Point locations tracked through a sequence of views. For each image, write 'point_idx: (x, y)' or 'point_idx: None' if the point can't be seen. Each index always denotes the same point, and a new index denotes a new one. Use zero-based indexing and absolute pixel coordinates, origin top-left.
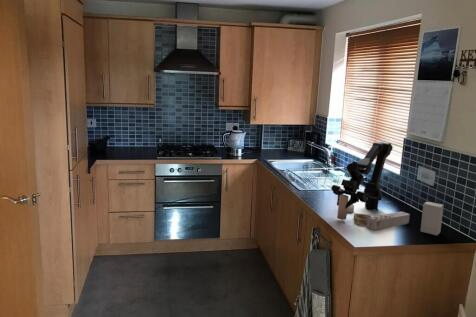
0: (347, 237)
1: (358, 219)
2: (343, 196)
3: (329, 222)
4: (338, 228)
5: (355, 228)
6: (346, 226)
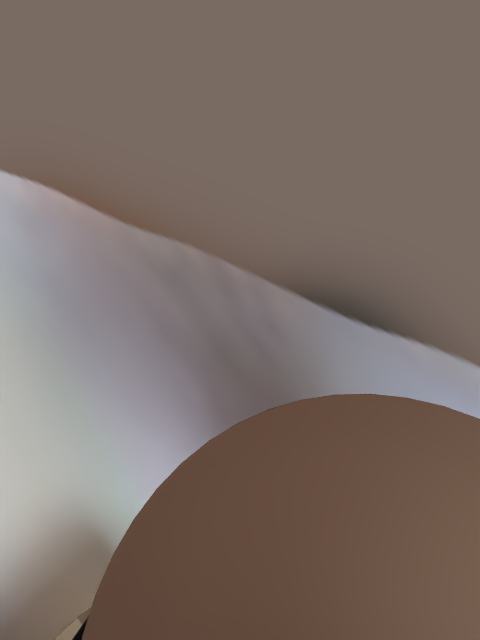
0: (10, 191)
1: (68, 628)
2: (335, 585)
3: (337, 320)
4: (169, 273)
5: (59, 436)
6: (152, 395)
